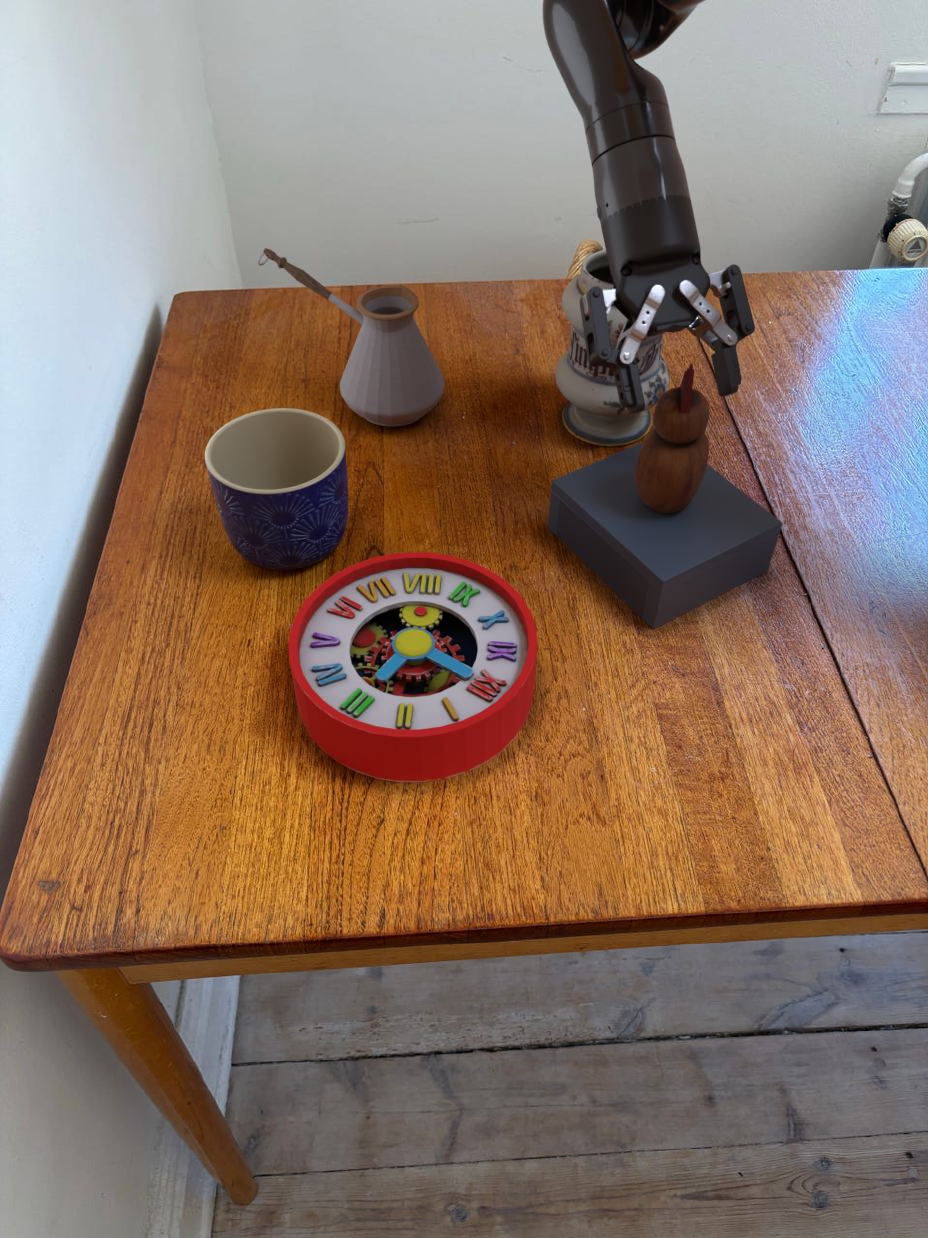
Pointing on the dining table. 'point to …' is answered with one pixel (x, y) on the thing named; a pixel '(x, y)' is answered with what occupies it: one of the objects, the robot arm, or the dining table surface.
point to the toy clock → (413, 666)
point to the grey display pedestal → (661, 537)
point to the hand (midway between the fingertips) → (683, 402)
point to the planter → (280, 486)
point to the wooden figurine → (674, 449)
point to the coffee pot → (383, 354)
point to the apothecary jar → (604, 370)
